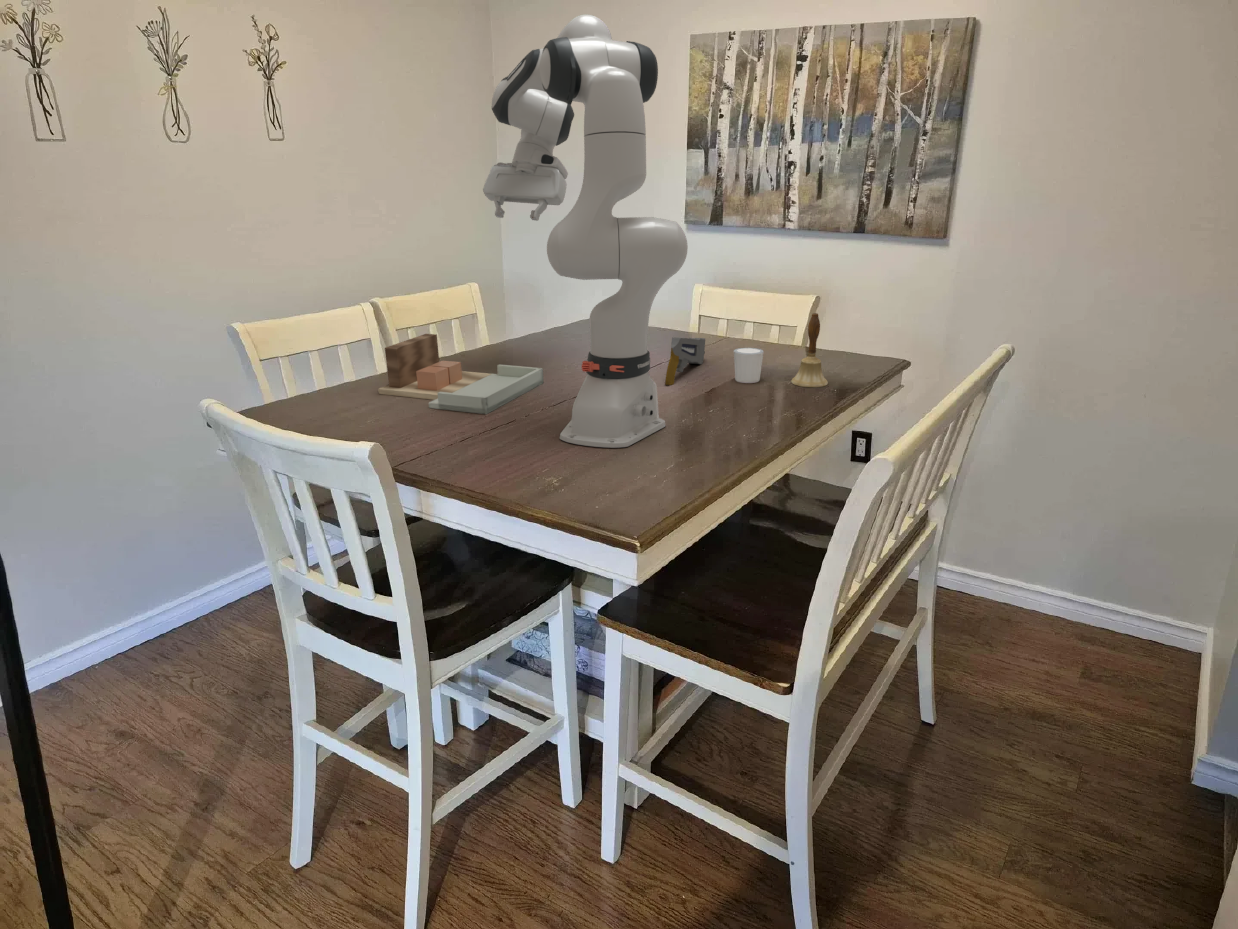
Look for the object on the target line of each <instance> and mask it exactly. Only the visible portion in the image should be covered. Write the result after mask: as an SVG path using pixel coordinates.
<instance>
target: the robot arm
mask: <svg viewBox="0 0 1238 929" xmlns="http://www.w3.org/2000/svg"><path fill="white" fill-rule="evenodd" d="M557 35H558V36H557V37H556V38H552V39H550V40H549V41H547V43H546V44H545V45H544V46H543V48H535V49H532V50H531V51H529V52H528V53H527V54H526V55H525V56H524V57H523V58H522V59H521V61H520V62H518V64H517V65H516V66H515V68H514V69H513V70H512V71H511V72H510V73H509V75H507V76H505V77H503V78H502V79H501V81H500V82H499V83H498V84H497V86H496V88H494V92H493V95H492V99H491V110H492V113H493V115H494V116H495V118H496V120H497V121H498V123H501V124H504V125H508V126H509V127H511V126H512V127H515V128H516V129H519V130H520V139H519V141H518V142H517V144H516V147H515V151H514V155H513V157H512V161H511V162H498V163H495V164H494V165H492V166H491V168H490V171H489V174H488V175H487V178H486V180H485V183H484V185H483V188H482V191H483V195H484V196H485V197H486V198H487V200H489V201H491V202H492V201H493V202H494V206H495V210H494V216H495V217H496V218H499V219H503V218H504V215H505V213H506V212H505V210H504V209H503V207H502V206H503V205H504V203H507V202H508V203H517V204H518V203H521V204H535V205H537V207H536V208H535V209H533V210H532V209H531V210H530V211H531V212H530V215H529V218H530V219H531V220H532V221H536V222H537V221H539V220H540V216H541V215H542V214H543V213H544V211H545V210H547V208H548V205H549V206H550V205H551V206H560V205H561V204H562V203H564V200H565V197H566V192H567V185H568V184H567V180H566V179H567V178H568V175H569V172H568V171H567V169H566V167H565V165H564V164H563V162H562V161H561V160H560V159H559V157H557V156H554V155H553V152H554V149H555V147H556V146H559V145H561V144H563V143H564V142H566V141H567V140H568V138H569V137H570V131H571V127H572V122H573V120H574V118H575V112H574V109H573V107H572V103H573V102H577V103H581V104H583V106H584V118H583V120H584V121H583V139H584V140H583V142H584V144H583V146H584V148H583V149H584V151H583V152H584V158H583V161H584V162H583V164H584V165H583V178H582V183H581V184H582V185H581V188H580V192H579V195H578V197H577V200H576V201H575V204H574V205H573V207H572V209H570V211H569V212H568V214H567V215H565V216H564V217H563V219H561V220H560V221H559V222H558V223H557V224H555V226H554V227H553V228H552V230H551V231H550V232H549V235H548V238H547V242H546V255H547V258H548V262H549V263H550V266H551V268H552V269H553V270H554V271H555V273H556V274H557V275H558V276H560V277H566V278H570V279H576V280H580V281H581V280H583V281H585V280H586V281H587V280H591V281H592V280H593V281H595V280H619V281H622V282H621V286H620V288H619V289H618V291H617V292H616V293H614V294H612V295H611V296H609V297H607V298H605V299H603V300H602V301H600V302H598V303H597V304H595V306H594V307H592V310H591V311H590V314H589V320H588V321H589V352H588V353H587V358H586V360H583V361H582V362H581V370H582V372H585V373H586V377H585V379H584V381H583V383H582V384H581V387H580V389H579V391H578V393H577V395H576V397H575V400H574V402H573V405H572V408H571V409H572V410H571V419H570V421H569V422H568V423H567V425H566V426H565V427H564V428H563V430H561V432H560V434H559V439H560V440H561V441H563V442H566V443H570V444H574V445H579V446H586V447H595V448H609V449H610V448H612V449H614V448H627V447H630V446H631V445H633V444H635V443H637V442H639V441H640V440H643V439H645V438H647V437H648V436H650V435H652V434H653V433H656V432H658V431H659V430H661V429H664V428H665V427H666V420H664V419H663V418H661V417H660V416H659V414H660V413H659V402H658V401H659V399H658V386H657V383H656V382H655V381H654V379H652V376H651V375H650V372H649V371H650V370H651V354H650V353H651V352H650V351H649V350H648V343H649V341H648V337H649V322H650V315H651V309H652V305H653V303H654V300H655V298H656V296H657V294H658V292H660V290H661V288H662V287H663V285H664V284H666V282H667V281H668V280H669V279H671V278H672V277H673V276H675V275H676V274H677V273H678V272H679V271H680V269H681V268H682V267H683V265H684V264H685V262H686V258H687V255H688V239H687V236H686V233H685V232H684V230H683V228H682V227H681V225H680V224H679V223H678V222H677V221H675V220H670V219H665V218H661V217H660V218H659V217H654V216H648V217H647V216H641V217H640V216H638V217H636V216H635V217H634V216H632V217H617V216H614V215H613V208H614V206H615V205H616V204H617V203H618V202H620V201H621V200H624V199H626V198H628V197H630V196H631V195H633V194H634V193H637V191H639V190H640V189H641V188H642V187H643V185H644V184H645V181H646V178H647V136H646V134H647V130H646V116H645V115H646V114H645V108H644V107H645V106H644V104H645V103H647V102H648V101H650V100H651V98H652V97H653V95H654V94H655V91H656V88H657V86H658V79H659V78H658V77H659V75H658V74H659V66H658V61H657V56H656V54H655V53H654V52H653V50H652V49H651V48H650V47H649V46H646V45H645V44H641V43H639V42H636V41H630V40H626V41H622V40H615V39H612V38H613V37H612V34H611V32H610V29H609V27H608V26H607V24H606V23H605V21H603V20H602V19H601V18H599V17H598V16H595V15H593V14H580V15H577V16H575V17H573V18H572V19H571V20H570V21H568V23H567V24H565V26H564V27H563V28H562V30H560V33H559V34H557Z"/></svg>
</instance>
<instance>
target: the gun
mask: <svg viewBox="0 0 1238 929" xmlns="http://www.w3.org/2000/svg"><path fill="white" fill-rule="evenodd" d="M705 348H706V338H704V337H689V338H688V337H674V336H673V337H671V345H670V357H669V361H668V364H667V367H666V368H667V369H666V374H665V379H664V380H665V382H664V385H665V386H673V385H674V384H675V377H676V373H683V372H684V369H685V368H686V367H688V364H691V365H693V364H694V365H703V363H704V359H705V353H706V352H705Z"/></svg>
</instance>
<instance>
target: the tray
mask: <svg viewBox="0 0 1238 929" xmlns="http://www.w3.org/2000/svg"><path fill="white" fill-rule="evenodd" d="M496 368H497V369H496V371H497V373H490V374H491V375H489V376H487V377H484V378H482V379H480V380H478V381H476V382H474V383H472V384H470V385H468V386H465V387H463V388H461V389H459V390H457V391H455V392H453V393H448V392H438V399H436V400H431V401H429V402H428V408H429V409H437V410H445V411H452V412H455V411H456V412H462V413H472V414H478V415H479V414H481V415H488V414H490V413H491V412H494V411H495V410H497V409H498V408H501V407H503V406H504V405H506V404H508V403H510V402H512V401H513V400H516V398H519V397H521V396H522V395H524V394H526V393H528V392H529V391H532V390H533V389H535V388H538V387H539V386H540V385H542V384H544V370H543V369H544V368H542V367H531V366H520V365H509V364H497V365H496Z"/></svg>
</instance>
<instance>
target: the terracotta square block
mask: <svg viewBox="0 0 1238 929" xmlns="http://www.w3.org/2000/svg"><path fill="white" fill-rule="evenodd" d="M430 366H434V367H445V368H448V376H449V384H453V383H455V382H457V381H459V380H461V379H462V371H463V369H462V362H461V361H453V360H452V361H451V360H439V362H438V363H435V364H433V365H430Z"/></svg>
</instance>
